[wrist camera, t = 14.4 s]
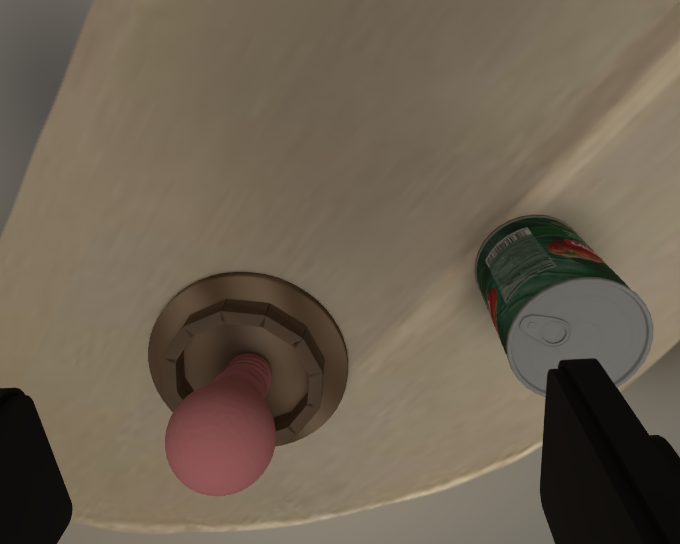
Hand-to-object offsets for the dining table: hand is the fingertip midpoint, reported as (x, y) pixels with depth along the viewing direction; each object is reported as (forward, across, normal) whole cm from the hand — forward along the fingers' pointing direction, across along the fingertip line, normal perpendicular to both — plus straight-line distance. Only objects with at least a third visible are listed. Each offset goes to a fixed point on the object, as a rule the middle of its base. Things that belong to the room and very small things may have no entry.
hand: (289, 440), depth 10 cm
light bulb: (+30, +10, +17) cm, 35 cm away
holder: (+30, +10, +17) cm, 36 cm away
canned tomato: (+31, -12, +10) cm, 34 cm away
